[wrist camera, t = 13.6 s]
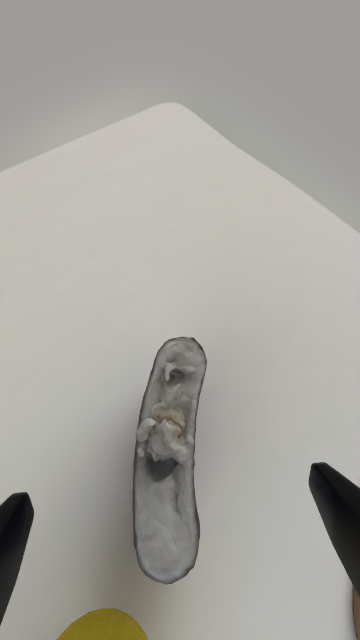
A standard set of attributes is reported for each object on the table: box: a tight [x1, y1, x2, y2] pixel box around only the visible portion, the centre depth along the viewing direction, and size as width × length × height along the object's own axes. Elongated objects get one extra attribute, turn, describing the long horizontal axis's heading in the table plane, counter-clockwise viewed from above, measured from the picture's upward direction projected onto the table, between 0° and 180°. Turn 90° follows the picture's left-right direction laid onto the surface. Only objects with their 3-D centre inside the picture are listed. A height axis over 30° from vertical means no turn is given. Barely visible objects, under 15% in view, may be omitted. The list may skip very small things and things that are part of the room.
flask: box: [133, 337, 207, 584], centre depth 14 cm, size 9×3×11 cm, turn 176°
